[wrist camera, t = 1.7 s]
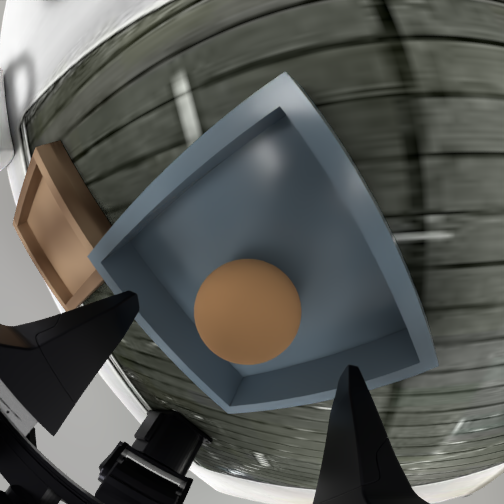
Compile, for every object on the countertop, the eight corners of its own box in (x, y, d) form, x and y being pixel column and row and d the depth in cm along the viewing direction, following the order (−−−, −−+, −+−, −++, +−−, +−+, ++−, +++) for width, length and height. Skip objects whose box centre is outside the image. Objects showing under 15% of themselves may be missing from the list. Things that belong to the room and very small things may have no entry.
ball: (325, 301, 13) (312, 374, 9) (253, 329, 15) (222, 391, 11) (273, 224, 12) (237, 278, 8) (203, 265, 14) (154, 319, 10)
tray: (132, 255, 16) (110, 272, 14) (84, 301, 21) (68, 314, 19) (60, 140, 14) (35, 147, 12) (29, 214, 19) (12, 223, 17)
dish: (427, 322, 12) (439, 365, 9) (244, 379, 18) (228, 413, 16) (300, 85, 9) (285, 71, 7) (122, 233, 16) (87, 256, 13)
